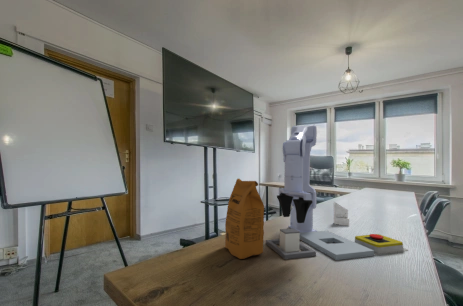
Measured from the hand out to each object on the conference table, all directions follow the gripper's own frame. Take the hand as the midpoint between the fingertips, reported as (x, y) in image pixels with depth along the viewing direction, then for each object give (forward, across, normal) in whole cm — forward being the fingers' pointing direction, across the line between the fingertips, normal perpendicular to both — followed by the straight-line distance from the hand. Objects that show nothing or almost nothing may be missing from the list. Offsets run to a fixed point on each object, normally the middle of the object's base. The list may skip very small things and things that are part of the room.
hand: (293, 219), depth 68 cm
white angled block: (+10, -20, +41) cm, 47 cm away
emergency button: (+10, +6, +30) cm, 32 cm away
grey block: (+10, -1, -1) cm, 10 cm away
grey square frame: (+10, -1, -1) cm, 10 cm away
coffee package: (+10, -4, -16) cm, 19 cm away
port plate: (+9, 0, +15) cm, 18 cm away
